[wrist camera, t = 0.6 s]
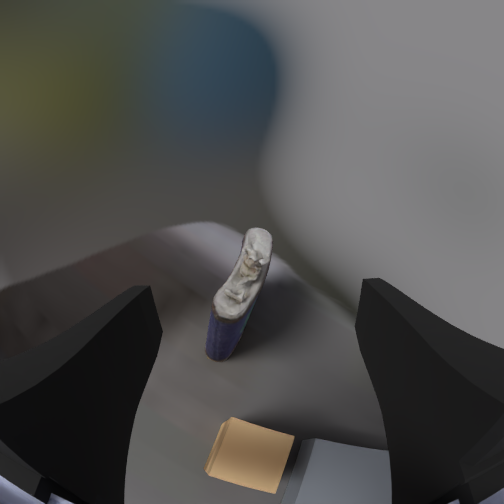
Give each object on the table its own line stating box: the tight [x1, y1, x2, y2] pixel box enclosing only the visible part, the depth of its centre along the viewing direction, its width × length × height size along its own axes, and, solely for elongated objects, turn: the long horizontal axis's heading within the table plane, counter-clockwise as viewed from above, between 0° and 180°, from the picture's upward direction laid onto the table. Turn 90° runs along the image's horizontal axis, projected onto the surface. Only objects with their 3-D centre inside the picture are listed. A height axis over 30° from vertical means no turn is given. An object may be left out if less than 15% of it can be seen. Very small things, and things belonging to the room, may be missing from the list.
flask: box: [205, 228, 273, 362], centre depth 24 cm, size 9×3×11 cm, turn 162°
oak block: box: [204, 417, 295, 494], centre depth 17 cm, size 4×4×6 cm
